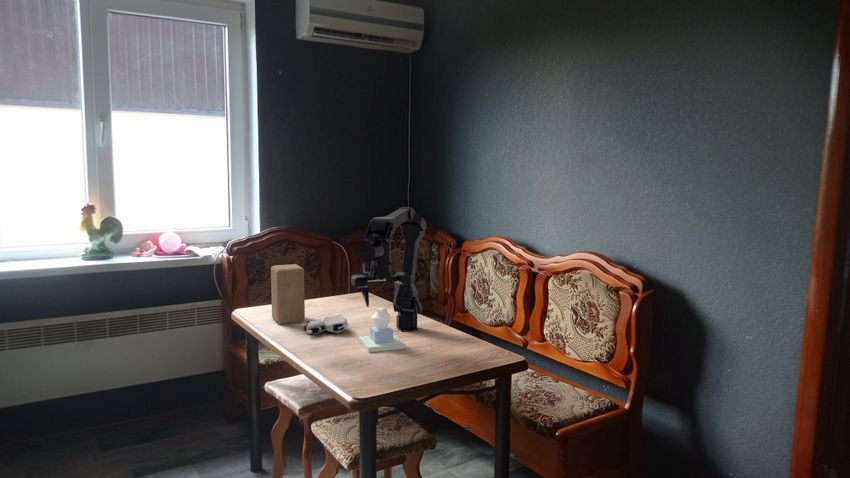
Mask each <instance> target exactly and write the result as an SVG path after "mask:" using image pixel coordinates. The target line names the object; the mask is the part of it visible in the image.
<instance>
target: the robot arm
mask: <svg viewBox="0 0 850 478" xmlns="http://www.w3.org/2000/svg"><path fill="white" fill-rule="evenodd" d="M398 227H400V229H401V236H402V238H403V240H404V249H403V257H402V265H401V272H400V271H399V272H395V274H394V275H392V273H391V270H392V269H391V266H392V261H391V258H392V253H391V251H392V249H391V248H392V247H391V246H392V245H391V244H392V243H393V242H394V240H393V238H392V237H393V235H394V234H395V233H396V228H398ZM427 227H428V226H427V221H426V220H425V218H424V216H422V215H421V214H420V213H418V212H416V211H415V209H414V208H412V207H410V206H409V207H406V206H402V207H401V206H400V207H399V208H397V210H395V211H393V212H392V213H389V214H387V215H385V216H377V217H373V218H372V219H371V220H370V222H369V223H368V226H367V229H366V232H365V235H364V238H363V240H364V241H363V244H362V245H361V246H360V247H359V249H358V252H357V253H358V254H357V255H358V257H359V259H360V260H361V261H362V262H363V263H362V273H363V274H353V275H351V278H350V284H351V285H352V286H353V287H354V288H357V289H358V290H360V292H361V294H362V296H363V300H364V302H365V303H364V304H365V306H366V307H367V308H369V305H370V295H369V292H370V291H369V286H367V285H368V284H370V283H371V284H372V283H373V284H374V283H387V282H388V283H391V282H394V283H393V284H394V289H393V296H392V300H391V301H392V307H393V311H394V312H396V313H397V315H396V316H395V317H396V318H395V319H396V321H395V323H396V326H395V327H396V328H397V330H399V331H401V332H411V331H419V330H420V328H419V327H418V314H421V313H422V307H423V305H422V303H421V301H420V299H419V296H418V295H419V293H418V290H417V288H416V286H415V285H416V284H415V278H416V272H417V261H418V254H419V253H418V252H419V244H420V242H421V241H422V240H423V239H424V237H425V235H426V234H425V232H426V230H427ZM370 263H371V264H370ZM365 274H368V276H366V275H365Z"/></svg>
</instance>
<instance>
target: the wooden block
mask: <svg viewBox="0 0 850 478" xmlns="http://www.w3.org/2000/svg"><path fill="white" fill-rule="evenodd" d="M270 282H271V289H270V290H271V318H272V319H273V320H274V321H275V322H276V323H277V324H278V325H285V324H294V323H304V321H305V320H306V313H305V305H306V304H305V303H306V302H305V270H304V268H303V267H302V266H300V265H298V264H295V263H293V264H278V265H276V264H275V265H273V266H271V267H270Z"/></svg>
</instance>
